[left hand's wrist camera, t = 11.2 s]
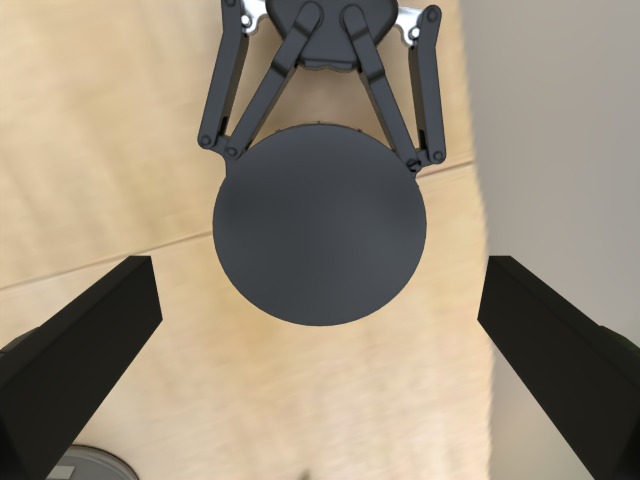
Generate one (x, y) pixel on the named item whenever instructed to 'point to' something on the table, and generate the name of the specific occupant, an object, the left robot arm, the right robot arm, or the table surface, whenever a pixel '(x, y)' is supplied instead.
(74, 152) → the table surface
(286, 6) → the right robot arm
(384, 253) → the lid
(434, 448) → the table surface
